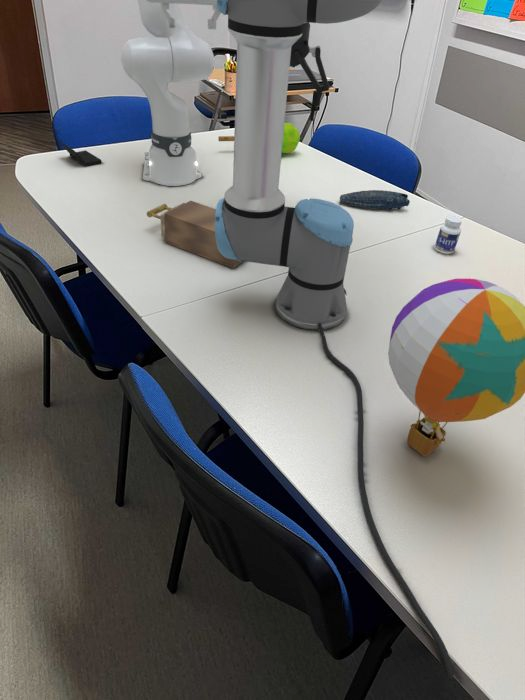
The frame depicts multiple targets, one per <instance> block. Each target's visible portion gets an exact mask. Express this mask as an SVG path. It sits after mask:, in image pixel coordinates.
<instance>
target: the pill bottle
mask: <svg viewBox="0 0 525 700" xmlns="http://www.w3.org/2000/svg"><path fill="white" fill-rule="evenodd" d="M462 222H463V219H461V218H460V217H458V216H455V215H448V216H446V218H445V220H444V223H443V224H442V225H440V228H439V231H438V234H437V237H436V240H435V243H434V250H435V251H437V252H439V253H441V254H447V255H449V254H453V253H454V252H455V250H456V247H457V244H458V242H459V239H460V236H461V233H462V229H461V225H462Z"/></svg>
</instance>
